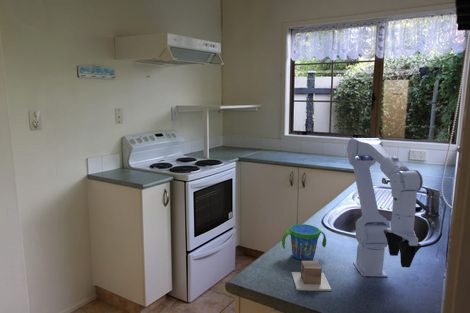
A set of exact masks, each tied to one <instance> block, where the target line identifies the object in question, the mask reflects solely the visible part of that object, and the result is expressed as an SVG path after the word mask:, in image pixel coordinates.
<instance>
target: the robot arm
mask: <svg viewBox="0 0 470 313" xmlns="http://www.w3.org/2000/svg"><path fill="white" fill-rule="evenodd" d="M346 153H347V158H348V163H349V165H351V166H352V168H353V173H354V178H355V183H356V190H357V194H358V198H359V199H358V200H359V206H360V210H361V214H362V215H361V217H359V218H358V219H357V220H356V221H355V239H356V241H357V242H358V245H357V247H356V261H353V265H354V266H355V268H356V269H357V271H358V272H359V273H360V274H361V276H362V277H379V278H381V277H382V278H383V277H388V274H387V273H386V271H385V270H384V259H385V250H386V248H388V252H389V256H393V257H394V256H397V257H398V256H399V254H400V265H401V267H402V268H410V267H411V266H412V263H413V260H414V258H415V256H416V254H417V253H418V252H419V250H420V249H421V247H422V245H421V243H419V238H418V237H417V236H416V233H415V230H414V229H415V228H414V227H415V217H416V216H415V215H416V206H417V195H418V194H417V193H418V192H420V191H421V189H422V188H423V185H424V180H423V175H422V174H421V172H420V171H419V170H417V169H410V168H409V167H407V165H405V164H404V163H403V162H402V161H401V160H400V158H399V157H398V156H395V155H394V156H393V155H392V156H391V155H389V154H388V152H387V151H386V150H385V149H384V146H383V141H382V140H381V139H380V138H378V137H374V138H372V137H370V138H368V137H367V138H366V137H365V138H363V137H361V138H360V137H350V139H349V140H348V142H347V146H346ZM376 163H378V164H379V169H380V171H381V172H382V173H383V174H384V176H386V178H387V179H388V180H389V185H390V188H391V189H390V190H391V193H390V194H391V197H392V210H391V220H388V219H387V218H386V217H384V216H383V215H381V214H380V212H379V209H378V208H379V207H378V203H377V199H376V198H377V197H376V194H375V188H374V184H373V178H372V175H371V167H372V166H374V165H375V164H376ZM403 239H404V241H403Z"/></svg>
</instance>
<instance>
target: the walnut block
mask: <svg viewBox="0 0 470 313" xmlns="http://www.w3.org/2000/svg"><path fill="white" fill-rule="evenodd" d="M300 268H301V269H300V272H301V278H302V280H303V283H304V284H321V273H323V272H322V269H323V268H322V266H321V264H320V263H319V261H318V260H301V266H300Z"/></svg>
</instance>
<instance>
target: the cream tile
mask: <svg viewBox="0 0 470 313" xmlns="http://www.w3.org/2000/svg"><path fill="white" fill-rule="evenodd" d="M291 276H292V280H293V284H294V286H295V289H296V291H310V292H314V291H315V292H316V291H318V292H319V291H320V292H323V291H324V292H331V291H332V288H331V286H330V284H329V281H328V279H327V277H326V275H325V273H324V272H322V273H321V284H304V283H303V280H302V278H301V271H291Z"/></svg>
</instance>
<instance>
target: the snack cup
mask: <svg viewBox="0 0 470 313" xmlns="http://www.w3.org/2000/svg"><path fill="white" fill-rule="evenodd" d="M321 234H322V235H323V236H322V237H323V239H322V243H321V246H322V247H323V248H325V247H326V245H327V236H326V234H325V232H324V231H323V230H321V229H320V228H318V227H317V226H315V225H313V224H305V223H298V224H293V225H291V226H289V229H287V230H286V231H285V232H284V233H283V234H282V238H281V246H282V248H283V249H284V250H285V249H286V247H285V244H286V237H287V236H288V235H290V241H291V242H290V244H291V253H292V257H294V258H295V259H297V260H300V261H313V258H314V257H315V254H316V252H317V251H316V250H317V245H318V241H319V237H320V235H321Z"/></svg>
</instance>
